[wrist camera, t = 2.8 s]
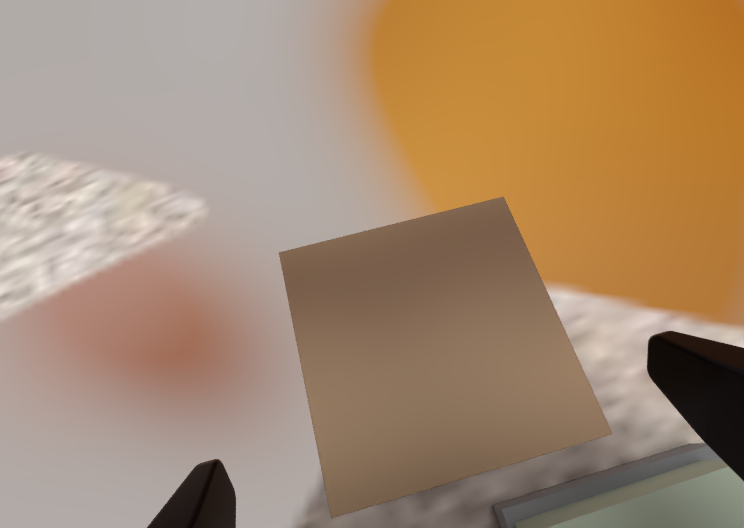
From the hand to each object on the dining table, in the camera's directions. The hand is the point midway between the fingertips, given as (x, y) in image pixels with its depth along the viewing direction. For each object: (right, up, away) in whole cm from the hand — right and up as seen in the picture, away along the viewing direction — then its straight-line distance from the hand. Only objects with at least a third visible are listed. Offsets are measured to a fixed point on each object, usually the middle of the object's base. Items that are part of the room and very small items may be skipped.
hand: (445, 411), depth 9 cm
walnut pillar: (0, -2, +9) cm, 9 cm away
